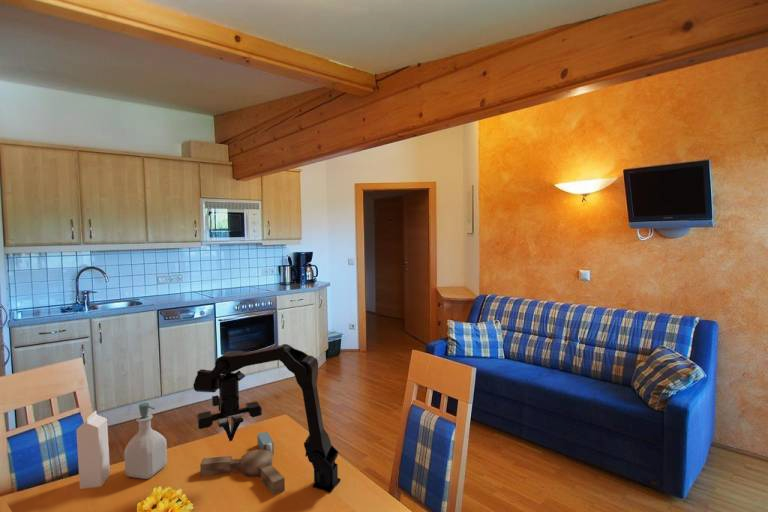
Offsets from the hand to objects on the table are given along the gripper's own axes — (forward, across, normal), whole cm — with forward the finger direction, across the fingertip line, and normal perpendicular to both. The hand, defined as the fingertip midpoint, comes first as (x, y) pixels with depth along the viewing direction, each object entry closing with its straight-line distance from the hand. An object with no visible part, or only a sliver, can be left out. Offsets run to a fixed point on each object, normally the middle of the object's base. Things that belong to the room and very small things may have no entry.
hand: (230, 440), depth 130 cm
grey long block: (+12, -13, -10) cm, 21 cm away
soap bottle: (+12, +24, -17) cm, 32 cm away
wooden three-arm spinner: (+12, -6, +1) cm, 13 cm away
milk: (+12, +38, -19) cm, 44 cm away
